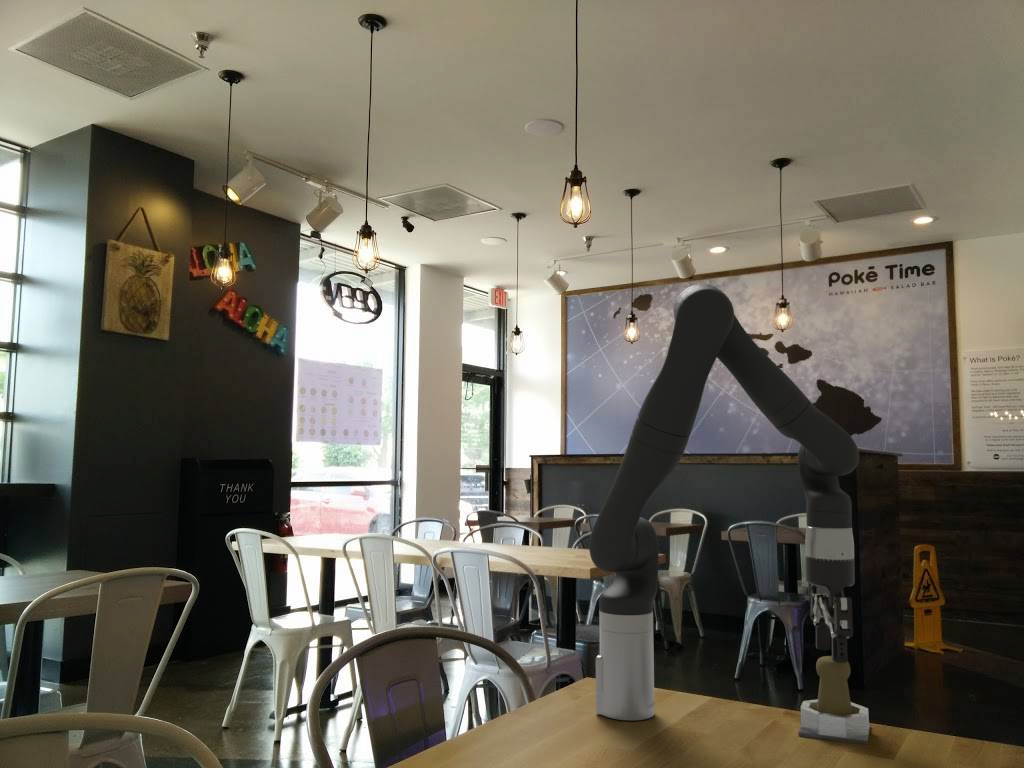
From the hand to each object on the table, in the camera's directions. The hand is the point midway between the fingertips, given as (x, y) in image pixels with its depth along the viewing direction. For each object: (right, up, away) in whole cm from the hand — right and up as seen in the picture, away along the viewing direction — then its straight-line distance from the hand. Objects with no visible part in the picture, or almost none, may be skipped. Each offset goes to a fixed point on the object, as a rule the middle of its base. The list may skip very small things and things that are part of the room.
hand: (831, 655), depth 138 cm
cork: (0, -11, -2) cm, 11 cm away
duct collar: (0, -11, -2) cm, 12 cm away
